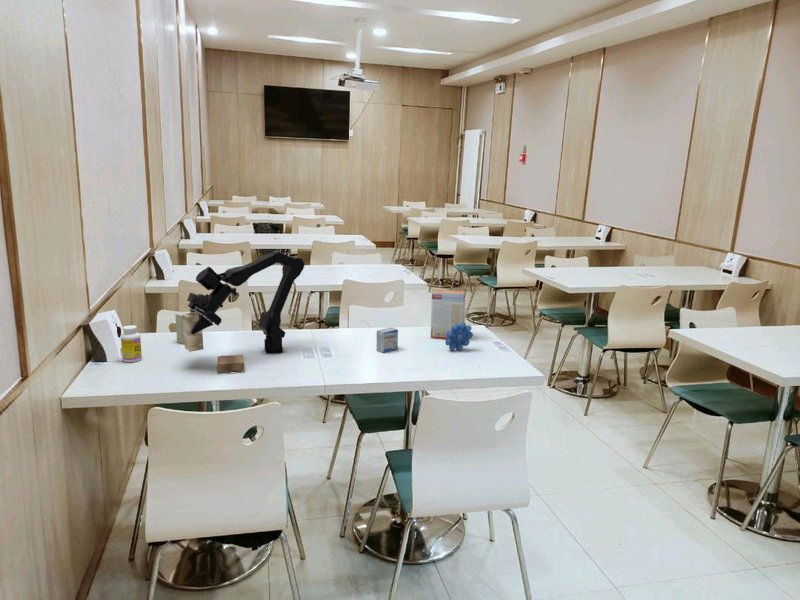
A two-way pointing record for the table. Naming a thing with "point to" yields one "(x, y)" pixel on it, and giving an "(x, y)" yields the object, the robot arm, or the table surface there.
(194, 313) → the oak post
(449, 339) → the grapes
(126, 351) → the supplement bottle
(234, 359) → the walnut block
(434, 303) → the cracker box
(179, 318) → the skincare box
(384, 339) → the medicine box
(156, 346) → the table surface
